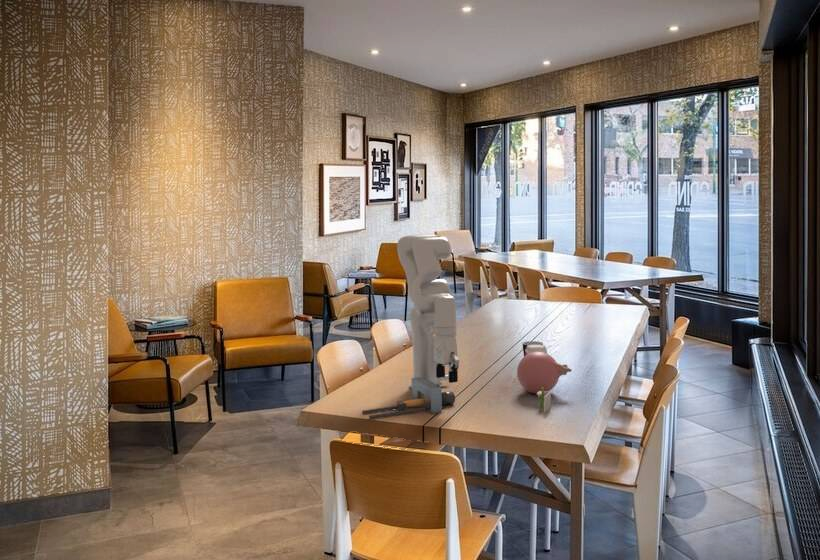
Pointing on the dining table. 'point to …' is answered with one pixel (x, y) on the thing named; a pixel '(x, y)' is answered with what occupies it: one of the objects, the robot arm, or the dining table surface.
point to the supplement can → (535, 348)
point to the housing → (427, 394)
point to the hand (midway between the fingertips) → (446, 379)
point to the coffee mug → (529, 344)
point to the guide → (390, 412)
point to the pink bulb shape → (540, 372)
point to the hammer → (446, 399)
